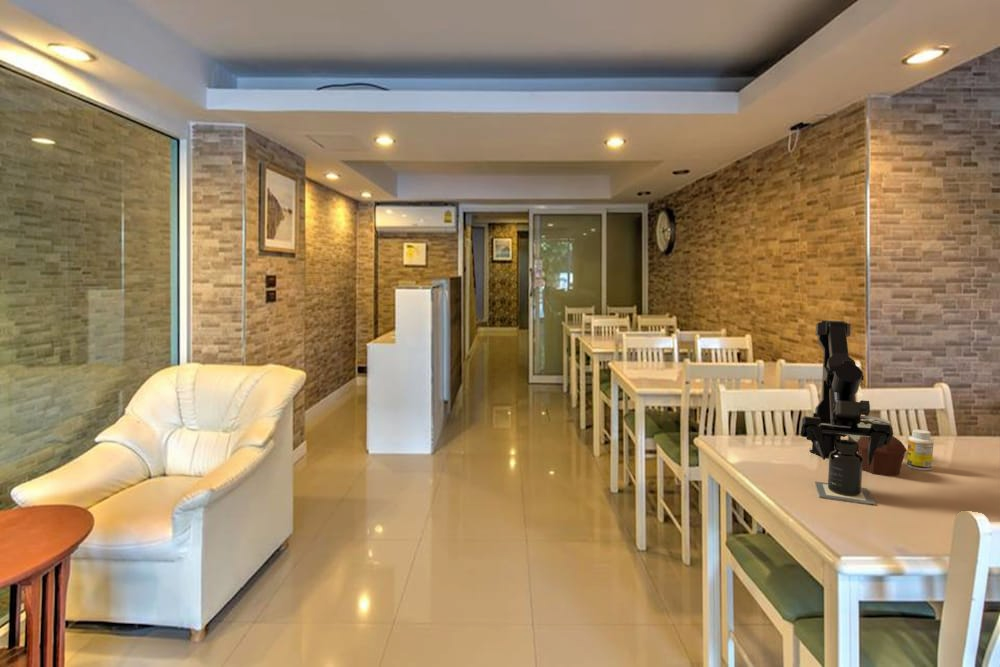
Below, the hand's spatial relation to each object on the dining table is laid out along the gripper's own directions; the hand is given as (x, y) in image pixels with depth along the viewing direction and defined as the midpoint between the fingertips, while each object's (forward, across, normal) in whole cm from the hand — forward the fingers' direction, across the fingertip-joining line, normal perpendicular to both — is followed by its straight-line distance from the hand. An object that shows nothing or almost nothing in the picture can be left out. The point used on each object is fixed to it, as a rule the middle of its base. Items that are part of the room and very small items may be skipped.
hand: (846, 461), depth 135 cm
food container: (-27, +12, +39) cm, 49 cm away
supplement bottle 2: (-18, +22, +30) cm, 41 cm away
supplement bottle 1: (+4, 0, +7) cm, 8 cm away
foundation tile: (+5, 0, +7) cm, 8 cm away
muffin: (-12, +11, +24) cm, 29 cm away
